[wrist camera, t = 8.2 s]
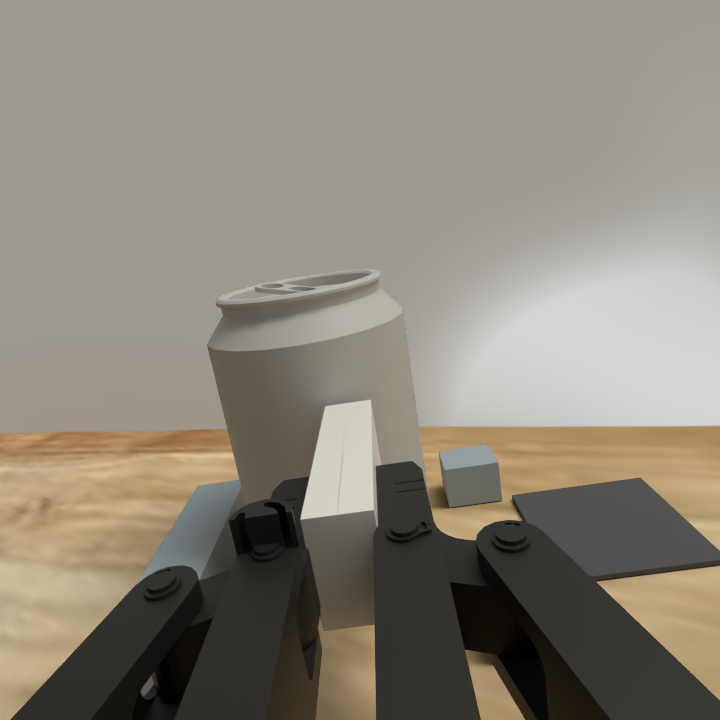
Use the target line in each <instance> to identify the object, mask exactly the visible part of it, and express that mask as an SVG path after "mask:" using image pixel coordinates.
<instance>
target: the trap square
mask: <svg viewBox="0 0 720 720" xmlns="http://www.w3.org/2000/svg"><path fill="white" fill-rule="evenodd" d="M512 499H513V501H514V503H515V505H516V507H517V508H518V510H519V512H520V514H521V516H522V518H523V520H524V521H525V522H526V523H529V524H532V525H534V526H536V527H537V528H539V529H541V530H542V531H543V532H544V533H545V534H547V535H548V536H549V537H550V538H551V539H552V540H553V541H554V542H555V543H556V544H557V545H558V546H559V547H560V548H561V549H562V550H563V551H564V552H565V553H566V554H567V555H568V556H569V557H571V558H572V559H573V560H574V561H575V562H576V563H577V564H578V565H579V566H580V567H581V568H582V569H583V570H584V571H585V572H586V573H587V574H588V575H589V576H590V577H591V578H592V579H593V580H594V581H596V580H604V579H612V578H620V577H628V576H635V575H643V574H651V573H659V572H666V571H674V570H682V569H690V568H697V567H705V566H713V565H720V551H719V550H718V549H717V548H716V547H715V546H714V545H713V544H711V543H710V542H709V541H708V540H707V539H706V538H705V537H704V536H703V535H702V534H701V533H700V532H698V531H697V530H696V529H695V528H694V527H693V526H692V525H691V524H690V523H689V522H688V521H687V520H686V519H684V518H683V517H682V516H681V515H680V514H679V513H678V512H677V511H676V510H675V509H674V508H673V507H671V506H670V505H669V504H668V503H667V502H666V501H665V500H664V499H663V498H662V497H661V496H660V495H659V494H657V493H656V492H655V491H654V490H653V489H652V488H651V487H650V486H649V485H648V484H647V483H646V482H644V481H643V480H642V479H641V478H634V479H627V480H620V481H612V482H605V483H598V484H591V485H583V486H576V487H569V488H561V489H554V490H547V491H540V492H532V493H525V494H518V495H512Z"/></svg>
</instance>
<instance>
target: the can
mask: <svg viewBox="0 0 720 720" xmlns="http://www.w3.org/2000/svg"><path fill="white" fill-rule="evenodd" d="M380 277H381V273H380V272H379V271H376V270H372V269H370V270H365V269H363V270H349V271H338V272H330V273H322V274H316V275H309V276H303V277H297V278H291V279H286V280H280V281H275V282H270V283H261V284H257V285H256V286H252V287H248V288H244V289H241V290H238V291H234V292H231V293H228V294H225V295H223V296H221V297H219V298H218V300H217V301H216V306H218V307H219V308H221V310H222V313H223V317H222V319H221V320H220V322H219V324H218V326H217V328H216V329H215V331H214V333H213V335H212V336H211V338H210V340H209V342H208V345H207V346H208V351H209V355H210V359H211V363H212V367H213V371H214V375H215V380H216V384H217V388H218V392H219V396H220V400H221V404H222V409H223V412H224V417H225V421H226V425H227V429H228V433H229V438H230V442H231V446H232V450H233V454H234V458H235V462H236V466H237V471H238V475H239V479H240V483H241V487H242V491H243V495H244V500H245V504H246V505H248V504H250V503H253V502H256V501H260V500H264V499H270V498H271V495H272V492H273V490H274V489H275V488H276V487H277V486H278V485H279V484H280V483H281V482H282V481H283V480H288V479H295V478H302V477H310V473H311V468H312V464H313V459H314V455H315V450H316V446H317V441H318V437H319V432H320V428H321V423H322V418H323V414H324V409H325V406H330V405H337V404H344V403H351V402H358V401H365V400H371V404H372V410H373V416H374V422H375V428H376V435H377V441H378V447H379V453H380V459H381V465H386V464H393V463H400V462H407V461H413V462H414V463H416V464H417V465H418V466H419V467H420V468H422V471H423V476H424V481H425V485H426V490H427V493H428V489H427V481H426V474H425V467H424V460H423V452H422V445H421V438H420V431H419V424H418V417H417V409H416V402H415V394H414V387H413V380H412V373H411V365H410V358H409V351H408V344H407V336H406V329H405V322H404V315H403V308H402V307H401V306H400V305H399V304H398V303H397V302H395V301H394V300H392V298H391V297H389V296H388V295H387V294H386V293H385V292H383V291H382V290H381V289H380V288H379V284H378V280H379V279H380ZM428 498H429V496H428Z"/></svg>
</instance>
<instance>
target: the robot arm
mask: <svg viewBox="0 0 720 720" xmlns="http://www.w3.org/2000/svg"><path fill="white" fill-rule="evenodd" d="M228 521H229V525H230V529H231V533H232V537H233V541H234V545H235V549H236V553H237V557H236V559H235V562H234V565H233V567H232V568H231V569H230V570H227V571H225V572H222V573H220V574H217V575H214V576H211V577H208V578H206V579H203V580H200V581H199V578H198V575H197V572H196V571H195V570H194V569H193V568H192V567H188V566H184V565H179V566H170V567H166V568H164V569H160V570H157V571H155V572H154V573H152V574H151V575H149V576H147V577H145V578H144V579H143V580H142V581H140V582H139V583H138V584H137V585H136V586H135V587H134V588H133V589H132V590H131V591H130V592H129V593H128V594H127V595H126V596H125V597H124V598H123V599H122V601H121V602H120V603H119V604H118V605H117V606H116V607H115V608H114V609H113V610H112V611H111V612H110V613H109V614H108V616H107V617H106V618H105V619H104V620H103V621H102V622H101V623H100V624H99V625H98V626H97V627H96V628H95V630H94V631H93V632H92V633H91V634H90V635H89V636H88V637H87V638H86V639H85V640H84V641H83V642H82V643H81V645H80V646H79V647H78V648H77V649H76V650H75V651H74V652H73V653H72V654H71V655H70V656H69V657H68V658H67V660H66V661H65V662H64V663H63V664H62V665H61V666H60V667H59V668H58V669H57V670H56V671H55V672H54V674H53V675H52V676H51V677H50V678H49V679H48V680H47V681H46V682H45V683H44V684H43V685H42V686H41V687H40V689H39V690H38V691H37V692H36V693H35V694H34V695H33V696H32V697H31V698H30V699H29V700H28V701H27V703H26V704H25V705H24V706H23V707H22V708H21V709H20V710H19V711H18V712H17V713H16V714H15V715H14V716H13V718H12V719H11V720H315V716H316V706H317V696H318V685H319V675H320V665H321V655H322V647H321V641H320V636H319V631H318V623H319V615H321V620H322V625H323V629H324V631H325V630H333V629H341V628H350V627H358V626H366V625H374V624H375V671H376V720H481V719H480V715H479V710H478V706H477V701H476V697H475V692H474V688H473V684H472V679H471V675H470V670H469V666H468V661H467V657H466V653H465V650H471V651H478V652H484V653H489V656H490V659H491V662H492V664H493V666H494V668H495V669H496V671H497V673H498V674H499V676H500V678H501V679H502V681H503V683H504V685H505V686H506V688H507V690H508V691H509V693H510V695H511V696H512V698H513V700H514V701H515V703H516V705H517V706H518V708H519V710H520V711H521V713H522V715H523V716H524V718H525V720H720V700H719V699H718V698H717V697H716V696H714V695H713V694H712V693H711V692H710V691H709V690H708V689H707V688H706V687H705V686H704V685H703V684H702V683H701V682H700V681H699V680H698V679H697V678H696V677H695V676H694V675H693V674H692V673H690V672H689V671H688V670H687V669H686V668H685V667H684V666H683V665H682V664H681V663H680V662H679V661H678V660H677V659H676V658H675V657H674V656H673V655H672V654H671V653H670V652H669V651H668V650H666V649H665V648H664V647H663V646H662V645H661V644H660V643H659V642H658V641H657V640H656V639H655V638H654V637H653V636H652V635H651V634H650V633H649V632H648V631H647V630H646V629H645V628H644V627H642V626H641V625H640V624H639V623H638V622H637V621H636V620H635V619H634V618H633V617H632V616H631V615H630V614H629V613H628V612H627V611H626V610H625V609H624V608H623V607H622V606H621V605H620V604H618V603H617V602H616V601H615V600H614V599H613V598H612V597H611V596H610V595H609V594H608V593H607V592H606V591H605V590H604V589H603V588H602V587H601V586H600V585H599V584H598V583H597V582H596V581H594V580H593V579H592V578H591V577H590V576H589V575H588V574H587V573H586V572H585V571H584V570H583V569H582V568H581V567H580V566H579V565H578V564H577V563H576V562H575V561H574V560H573V559H572V558H571V557H569V556H568V555H567V554H566V553H565V552H564V551H563V550H562V549H561V548H560V547H559V546H558V545H557V544H556V543H555V542H554V541H553V540H552V539H551V538H550V537H549V536H548V535H547V534H545V533H544V532H543V531H542V530H541V529H539V528H537V527H536V526H534V525H532V524H529V523H526V522H522V521H515V520H514V521H512V520H506V521H499V522H494V523H492V524H490V525H487V526H485V527H484V528H483V529H482V530H481V531H480V532H479V533H478V535H477V539H476V541H474V540H464V539H458V538H454V537H451V536H448V535H446V534H445V533H443V532H441V531H440V530H439V529H438V528H437V527H436V525H435V523H434V520H433V516H432V511H431V507H430V502H429V498H428V493H427V490H426V485H425V481H424V476H423V471H422V468H420V467H419V466H418V465H417V464H416V463H414V462H413V461H407V462H400V463H393V464H386V465H381V459H380V453H379V447H378V441H377V435H376V428H375V422H374V416H373V410H372V404H371V400H365V401H358V402H351V403H344V404H337V405H330V406H325V409H324V414H323V418H322V423H321V428H320V432H319V437H318V441H317V446H316V450H315V455H314V459H313V464H312V468H311V473H310V477H302V478H295V479H288V480H283V481H282V482H281V483H280V484H279V485H278V486H277V487H276V488H275V489H274V490H273V492H272V495H271V498H270V499H264V500H260V501H256V502H253V503H250V504H248V505H246V506H244V507H242V508H240V509H239V510H238V511H236V512H235V513H234V514H233V515H232V516H231V518H230V519H229V520H228ZM151 676H152V679H153V682H154V685H153V686H152V688H151V689H150V690H149V692H148V693H147V694H146V695H145V696H144V697H143V696H142V694H141V689H142V688H143V686H144V685H145V684H146V682H147V681H148V679H149V678H150V677H151Z"/></svg>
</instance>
